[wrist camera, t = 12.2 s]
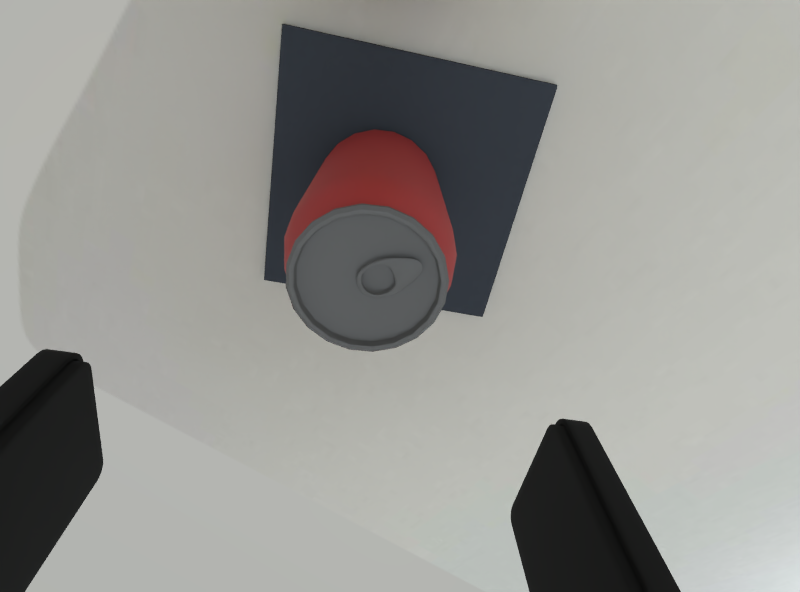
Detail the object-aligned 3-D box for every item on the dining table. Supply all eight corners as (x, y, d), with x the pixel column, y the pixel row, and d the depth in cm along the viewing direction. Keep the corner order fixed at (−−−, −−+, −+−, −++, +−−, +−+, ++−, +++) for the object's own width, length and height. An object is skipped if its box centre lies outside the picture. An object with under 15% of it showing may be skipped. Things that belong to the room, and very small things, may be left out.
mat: (265, 277, 30) (264, 279, 29) (283, 24, 23) (282, 23, 23) (481, 314, 31) (482, 317, 31) (555, 84, 25) (558, 85, 24)
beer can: (451, 221, 28) (486, 333, 17) (347, 258, 29) (319, 384, 18) (414, 108, 25) (428, 158, 14) (299, 153, 26) (232, 231, 15)
